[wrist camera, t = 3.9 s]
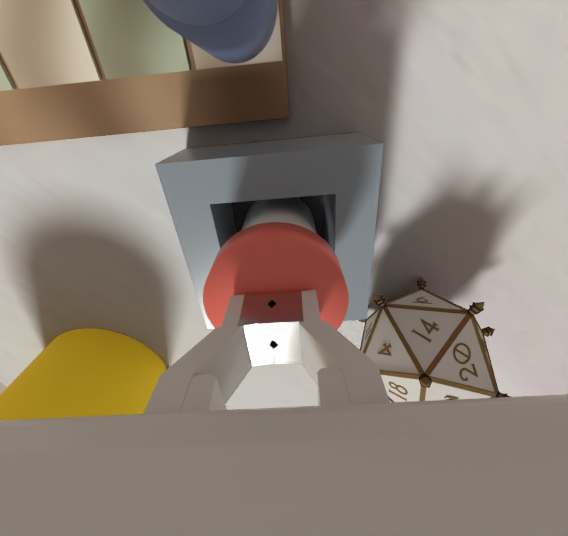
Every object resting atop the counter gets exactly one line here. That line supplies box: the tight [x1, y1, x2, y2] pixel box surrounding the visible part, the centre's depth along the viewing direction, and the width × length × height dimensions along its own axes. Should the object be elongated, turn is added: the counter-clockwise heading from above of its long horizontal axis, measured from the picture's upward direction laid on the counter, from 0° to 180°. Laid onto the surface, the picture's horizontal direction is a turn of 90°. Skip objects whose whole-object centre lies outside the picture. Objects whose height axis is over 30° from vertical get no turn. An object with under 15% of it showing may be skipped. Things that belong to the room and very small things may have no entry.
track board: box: [0, 0, 290, 146], centre depth 11 cm, size 16×8×1 cm, turn 95°
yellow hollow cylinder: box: [0, 328, 167, 420], centre depth 20 cm, size 10×10×9 cm
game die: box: [359, 277, 512, 402], centre depth 17 cm, size 9×8×10 cm
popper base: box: [155, 132, 384, 329], centre depth 15 cm, size 9×9×4 cm
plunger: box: [203, 197, 349, 330], centre depth 13 cm, size 5×5×7 cm
